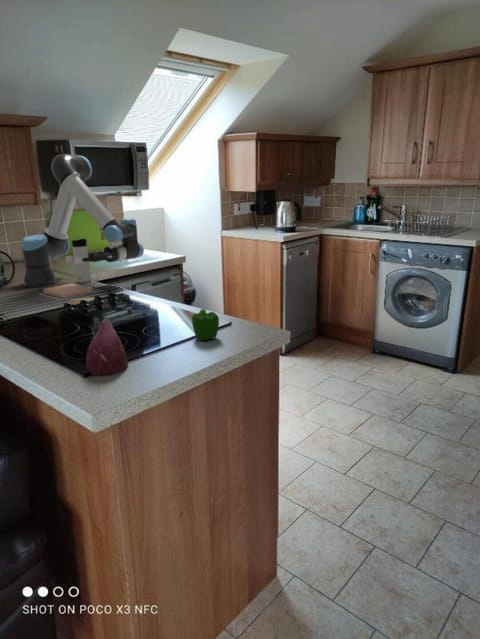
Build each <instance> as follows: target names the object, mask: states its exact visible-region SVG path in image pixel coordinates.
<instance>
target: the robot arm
mask: <svg viewBox="0 0 480 639" xmlns="http://www.w3.org/2000/svg"><path fill="white" fill-rule="evenodd" d="M50 167H51V173H52V175H53V177H54V178H55V180H56V181H57V182H58V183H59V184H60V186H59V190H58V192H57V198H56V201H55V204H54V208H53V212H52V215H51V219H50V222H49V225H48V227H47V228H44V231H43V234H33V235H28V236H25V237H23V238H22V239H21V242H20V243H21V250H22V256H23V257H22V258H23V262H24V270H25V271H24V275H23V282H22V283H23V286H24V287H29V288H36V287H38V288H39V287H45V286H47V287H48V286H51V285H56V283H57V281H58V280H57V277H56V275H55V273H54V271H53V269H52V266H51V260H54V259H60V258H62V257H64V256H65V255H67V254H68V252H69V250H70V247H71V244H70V242H69V235H68V233H67V232H68V230H69V226H70V222H71V218H72V215H73V211H74V209H75V204H76V202H78V203H79V204H80V205H81V207H82V208H83V209H84V210H85V211H86V212H87V213H88V215H89V216H90V217H91V219H93V221H95V223H96V224H97V225H98V226H99V227H100V229H101V230H102V231H103V236H104V239H105V240H106V241H107V242H109V243H119V242H120V241H121V244H114V245H109V246H105V247H104V248H103V250H98V251H94V250H93V251H90V252H88V256H83V257H76V258H75V264H80V263H86V262H89V263H92V262H93V263H97V262H103V261H106V262H107V263H116V262H119V263H121V262H122V261H124V260H125V261H126V260H132V259H137V258H141V257H142V256H143V255H144V253H145V250H144V246H143V244H142V243H141V242H140V241H139V240H138V226H137V220H136V219H135V218H130V217H129V218H128V217H127V218H121V219H120V220H119V221H120V222H118V221H117V220H116V219H115V218H114V216H113V215H112V214H111V213H110V211H109V210H108V209H107V208H106V207H105V205H103V203H101V201H100V200H99V198H97V196H96V195H95V194H94V193H93V192H92V190H90V188H89V186H88V185H87V184H86V183H85V182H86V181H88V180H89V179H90V178H91V176H92V174H93V167H92V164H91V162H90V160H89V159H88V158H87V157H85V156H83V155H79V154H70V153H69V154H67V153H61V154H57V155H56V156H55V157H53V158H52V161H51V165H50ZM138 241H139V242H138ZM65 261H66V263H74V256H73V255H67V256H65ZM75 264H74V265H75Z"/></svg>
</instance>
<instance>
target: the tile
mask: <svg viewBox="0 0 480 639" xmlns="http://www.w3.org/2000/svg"><path fill="white" fill-rule="evenodd" d="M91 288H92V287H91V286H90V287H89V286H85V285H82V284H78V283H72V282H71V283H66V284H62V285H56V286H52V287H47V288H43V293H45V294H49V295H53V296H57V297H61V298H66V297H71V296H76V295H80V294H85V293H90V292H92V289H91Z"/></svg>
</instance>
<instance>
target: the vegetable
mask: <svg viewBox="0 0 480 639" xmlns="http://www.w3.org/2000/svg"><path fill="white" fill-rule="evenodd" d="M126 353H127V352H126V350H125V347H124V345H123V343H122V341H121V339H120V337H119V336H118V334H117V331H116V330H115V328H114V326H113V324H112V322H111V320H110V318H109V317H108V316H105V317H104V319H103V320H102V321H101V322H100V324H99V327H98V329H97V332H96V333H95V334H94V337H93V338H92V339H91V342H90V344H89V345H88V348H87V352H86V358H85V362H86V363H85V365H86V371H88V372H90V373H91V374H92V376H95V377H104V376H111V375H114V374H118V373H121V372H123V371H126V370H127V369H128V368H129V365H128V358H127V354H126ZM88 372H87V373H88ZM91 374H90V375H91Z"/></svg>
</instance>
